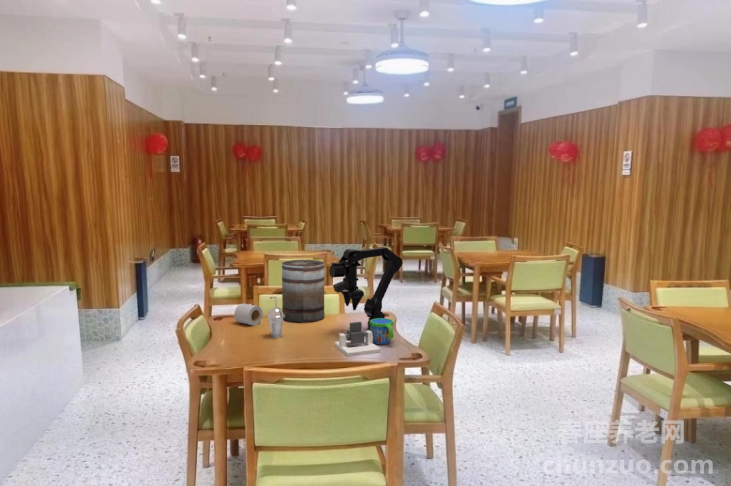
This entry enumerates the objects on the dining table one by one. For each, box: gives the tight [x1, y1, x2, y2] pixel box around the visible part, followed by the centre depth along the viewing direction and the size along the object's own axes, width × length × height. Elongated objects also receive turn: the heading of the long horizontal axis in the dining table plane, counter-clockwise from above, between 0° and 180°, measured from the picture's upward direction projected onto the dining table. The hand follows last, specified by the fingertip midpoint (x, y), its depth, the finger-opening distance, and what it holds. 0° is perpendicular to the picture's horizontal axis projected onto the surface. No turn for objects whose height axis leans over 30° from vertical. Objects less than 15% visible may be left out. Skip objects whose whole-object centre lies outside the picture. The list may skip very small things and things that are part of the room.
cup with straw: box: [266, 296, 285, 339], centre depth 232 cm, size 8×9×20 cm
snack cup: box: [370, 317, 394, 345], centre depth 225 cm, size 16×10×10 cm
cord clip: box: [346, 321, 365, 344], centre depth 217 cm, size 6×6×8 cm
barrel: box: [281, 259, 325, 324], centre depth 266 cm, size 22×22×30 cm
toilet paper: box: [233, 303, 263, 327], centre depth 254 cm, size 10×10×10 cm
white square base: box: [334, 330, 382, 357], centre depth 216 cm, size 15×16×6 cm
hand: (350, 308), depth 236 cm, fingers open, 9 cm apart
